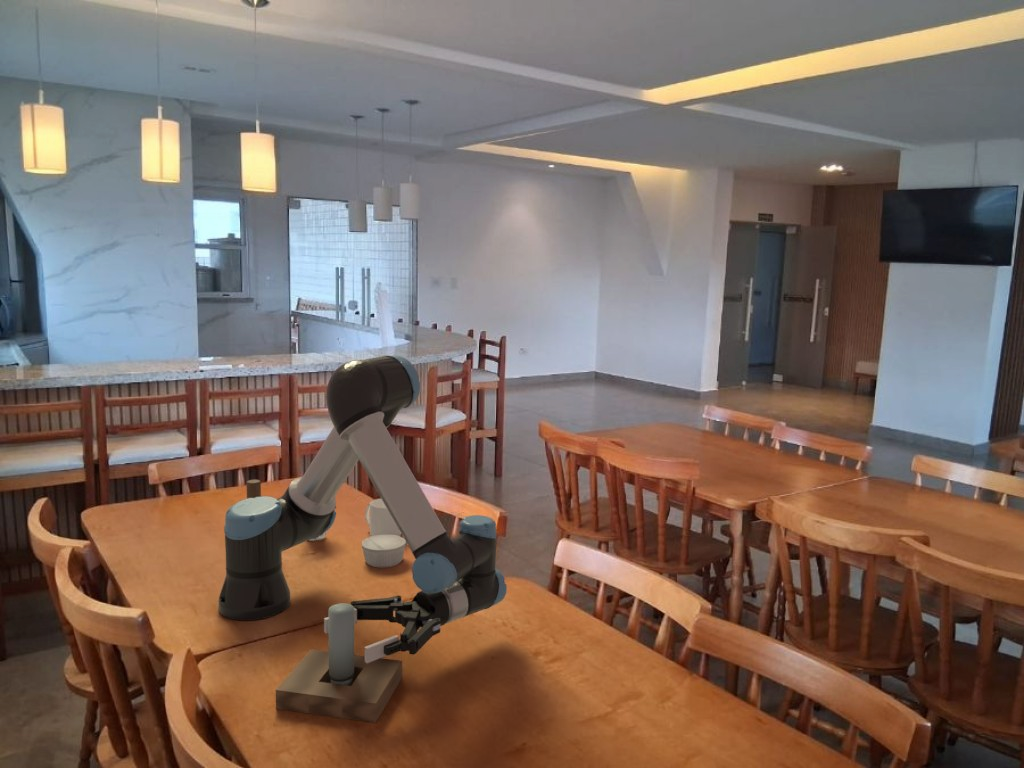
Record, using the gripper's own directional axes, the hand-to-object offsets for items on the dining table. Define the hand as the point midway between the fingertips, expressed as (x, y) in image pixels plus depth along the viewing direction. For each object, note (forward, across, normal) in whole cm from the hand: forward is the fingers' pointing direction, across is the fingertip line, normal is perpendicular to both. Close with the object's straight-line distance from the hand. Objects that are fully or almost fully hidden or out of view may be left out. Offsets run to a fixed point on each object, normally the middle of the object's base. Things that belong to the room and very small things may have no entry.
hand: (344, 640), depth 132 cm
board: (0, 0, -10) cm, 10 cm away
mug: (-50, +63, -10) cm, 81 cm away
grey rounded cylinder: (0, 0, -10) cm, 10 cm away
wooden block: (-18, +73, -10) cm, 76 cm away
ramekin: (-39, +46, -10) cm, 61 cm away
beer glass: (-34, +72, -10) cm, 80 cm away
